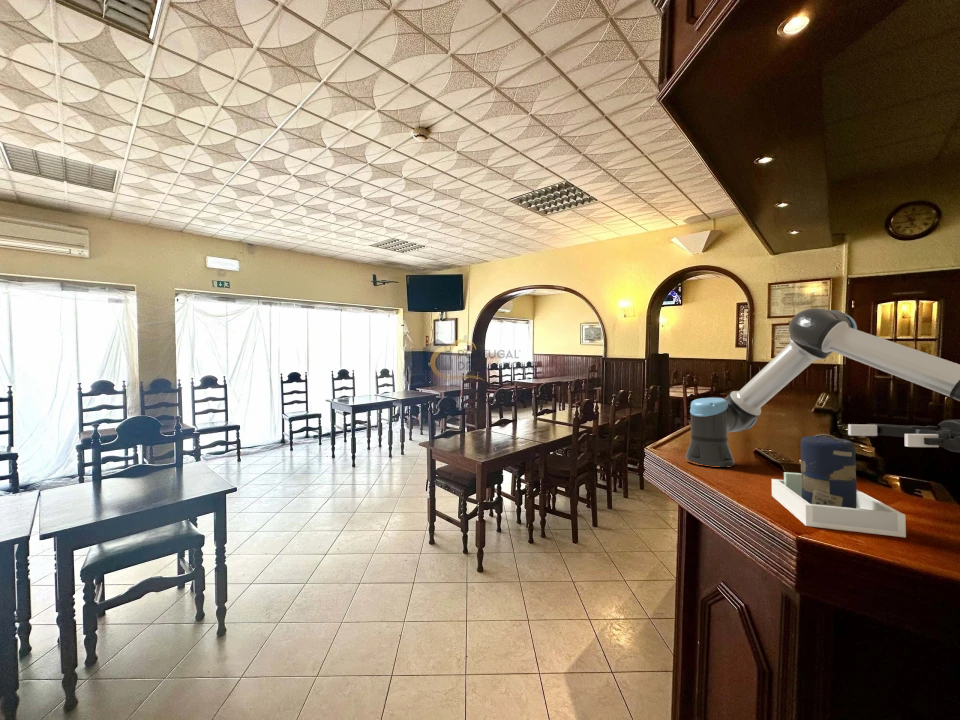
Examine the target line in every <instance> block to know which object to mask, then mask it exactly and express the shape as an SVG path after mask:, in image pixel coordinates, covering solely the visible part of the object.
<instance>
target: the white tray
mask: <svg viewBox="0 0 960 720" xmlns="http://www.w3.org/2000/svg"><path fill="white" fill-rule="evenodd" d="M771 497H773V499H775V501H777V502H778V503H780V505H782V506H783V507H784V508H785V509H787V511H789V512H790V513H791V514H792V515H793V516H794V517H795V518H796V519H798V520H799V521H800V522H801V523H802V524H803V525H804V526H806V527H813V528H821V529H830V530H831V529H832V530H837V531H838V530H839V531H847V532H857V533H864V534H872V535H883V536H892V537H898V538H899V537H900V538H907V529H906V528H907V526H906V524H907V523H906V522H907V521H906V514H904V513H902V512H900V511H899V510H897V509H894V508H893V507H891V506H889V505H887V504H885V503H883V502H882V501H880V500H877V499H875V498H874V497H872V496H870V495H868V494H866V493H864V492H863V491H860V490H858V489H857V498H856V508H847V507H837V506H827V505H817V504H810V503H808V502H807V501H806V500H804V499H803V498H802V497H800V496H799V495H797V494H796V493H795V492H793V491H792V490H791V489H789V488H788V487H787V486H785V485H784V479H779V478H771Z"/></svg>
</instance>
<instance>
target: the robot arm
mask: <svg viewBox="0 0 960 720" xmlns="http://www.w3.org/2000/svg"><path fill="white" fill-rule="evenodd" d="M788 325H789V326H788V333H789V337H788V338H789V339H788V340H789V343H788V344H787V345H786V346H785V347H784V348H783V349H782V350H781V351H779V353H777V355H775V356H774V357H773V358H772V359H771V360H770V361H769V362H768V363H767V364H766V365H765V366H764V367H763V368H762V369H760V370H759V372H758V373H757V374H755V375H754V376H753V377H752V378H751V379H750V380H749V381H748V382H747V383H746V384H745V385H744V386H743V387H742V388H741V389H740V390H733V391H731V392H730V393H729V394H728V395H727V396H726V397H725V398H722V397H701V398H696V399H694V400H692V401H691V402H690V409H689V413H690V443H689V444H688V445H689V446H688V448H687V450H686V452H685V460H686V459H687V460H689V461H691V462H695V463H698V464H703V465H709V466H720V467H727V466H733V465H734V466H735V459H734V456H733V453H732V451H731V448H730V446H729V440H728V439H729V437H728V435H729V434H728V433H735V432H736V433H738V432H743V431H747V430H749V429H751V428H752V427H753V426H754V425H755V424H756V422H757V420H758V417H759V416H760V415H761V413H762V407H763V406H764V405H766V404H767V402H769V401H770V400H771V399H772V398H773V397H775V395H777V394H778V393H779V392H780V391H781V390H783V388H785V387H786V386H788V385H789V384H790V382H792V380H794V379H795V378H796V377H798V376H799V375H800V374H801V373H802V372H803V371H804V370H805V369H807V368H808V367H809V366H810V365H811V364H812V363H814V361H817V360H825V359H827V357H828V356H830V355H831V354H832V353H836V354H837V355H841V356H843V357H847V358H848V359H850V360H852V361H853V360H854V361H855V362H859V363H860V364H864V365H867V366H868V367H871V368H874V369H877V370H880V371H882V372H884V373H887V374H890V375H893V376H896V377H897V378H900V379H902V380H905V381H907V382H911V383H913V384H915V385H918V386H921V387H923V388H926V389H929V390H932V391H934V392H936V393H938V394H941V395H944V396H947V397H949V398H952V399H954V400H956V401H958V402H960V364H959V363H957V362H953V361H950V360H948V359H944V358H941V357H939V356H936V355H933V354H929V353H927V352H924V351H920V350H919V349H915V348H912V347H909V346H906V345H904V344H900V343H897V342H894V341H891V340H888V339H885V338H883V337H879V336H876V335H873V334H871V333H867V332H865V331H862V330H859V329H858V326H857V323H856V321H855V319H854V318H853V317H852V316H850V315H848V314H847V313H845V312H843V311H839V310H836V309H835V310H834V309H833V310H832V309H825V308H824V309H823V308H818V307H817V308H816V307H815V308H814V307H812V308H807V309H804V310H801V311H799V312H798V313H796V314H795V315H794V316H793V317H792V318H791V320H790V322H789V324H788ZM847 435H848V436H851V437H852V436H853V437H854V436H855V437H856V436H858V437H860V436H861V437H871V438H876V437H878V436H885V437H886V436H887V437H895V438H896V437H898V438H904V447H908V448H939V447H940V448H943V449H945V450H947V451H950V452H953V453H960V419H946V420H942V421H940V422H939V423H938V424H937V425H936V426H934V425H926V426H923V425H921V426H920V425H899V424H883V423H882V424H881V423H872V422H871V423H870V422H869V423H867V424H857V423H856V424H855V423H854V424H853V423H851V424H850V423H848V424H847Z"/></svg>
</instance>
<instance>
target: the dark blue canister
mask: <svg viewBox="0 0 960 720" xmlns="http://www.w3.org/2000/svg"><path fill="white" fill-rule="evenodd" d="M856 449H857V448H856V445H855V443H854V442H853V441H851V440H847V439H843V438H838V437H835V436H833V435H830V434H826V433H822V434H821V433H820V434H815V435H813V436H812V435H807V436H804V437H802V438H801V439H800V473H801V483H802V498H803V499H804V500H806V501H807V502H808V503H810V504H817V505H827V506H837V507H847V508H856V498H857V490H858V489H857V485H858V484H857V476H856V475H857V473H856V471H857V464H856V462H857V461H856Z"/></svg>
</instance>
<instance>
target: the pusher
mask: <svg viewBox="0 0 960 720" xmlns="http://www.w3.org/2000/svg"><path fill="white" fill-rule="evenodd" d="M783 480H784V485H785V486H787V487H788V488H789V489H791V490H792V491H793V492H795V493H796V494H797V495H799V496H800V497H802V483H801V472H789V471H786V472H785V471H784V472H783Z"/></svg>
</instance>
